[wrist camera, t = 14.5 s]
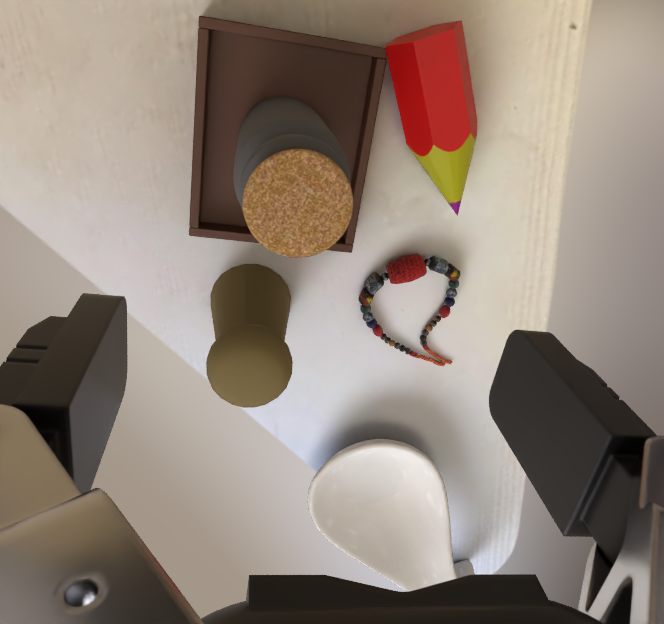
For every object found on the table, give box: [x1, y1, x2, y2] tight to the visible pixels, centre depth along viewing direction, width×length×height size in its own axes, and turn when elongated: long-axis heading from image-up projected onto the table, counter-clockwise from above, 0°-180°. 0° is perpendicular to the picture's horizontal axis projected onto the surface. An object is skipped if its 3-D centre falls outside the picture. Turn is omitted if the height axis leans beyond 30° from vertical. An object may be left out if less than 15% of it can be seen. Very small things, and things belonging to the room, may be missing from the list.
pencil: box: [385, 21, 477, 216], centre depth 36 cm, size 5×12×4 cm, turn 17°
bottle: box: [233, 96, 353, 258], centre depth 30 cm, size 6×6×15 cm
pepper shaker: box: [206, 264, 292, 407], centre depth 37 cm, size 6×6×11 cm
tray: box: [189, 16, 387, 253], centre depth 36 cm, size 13×11×2 cm
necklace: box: [359, 254, 460, 366], centre depth 44 cm, size 8×11×2 cm
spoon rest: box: [308, 439, 475, 592], centre depth 51 cm, size 24×12×7 cm, turn 33°
